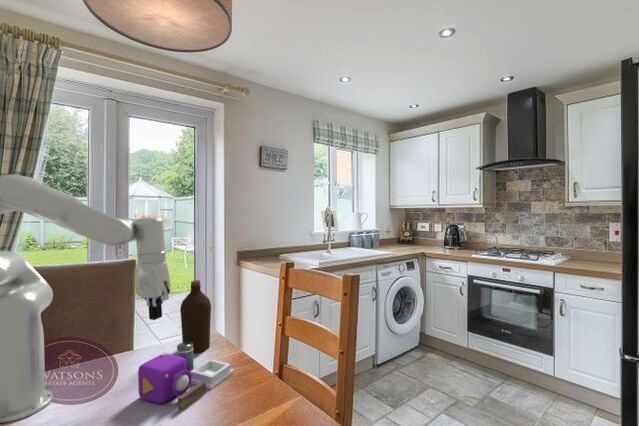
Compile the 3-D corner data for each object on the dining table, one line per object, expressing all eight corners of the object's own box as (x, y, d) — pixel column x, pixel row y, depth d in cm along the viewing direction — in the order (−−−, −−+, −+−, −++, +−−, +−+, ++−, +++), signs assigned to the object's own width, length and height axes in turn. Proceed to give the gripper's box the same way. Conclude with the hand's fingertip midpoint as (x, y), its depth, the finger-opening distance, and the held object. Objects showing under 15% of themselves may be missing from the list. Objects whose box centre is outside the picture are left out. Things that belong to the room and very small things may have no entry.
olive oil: (205, 354, 113) (204, 284, 112) (175, 354, 113) (174, 284, 113) (215, 342, 124) (214, 277, 123) (188, 341, 124) (187, 277, 123)
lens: (173, 371, 101) (173, 346, 101) (185, 364, 106) (185, 340, 106) (185, 374, 99) (184, 349, 99) (197, 367, 104) (196, 343, 104)
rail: (177, 409, 83) (177, 397, 83) (201, 391, 90) (201, 381, 90) (182, 410, 82) (182, 398, 82) (205, 392, 90) (205, 382, 90)
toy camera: (177, 410, 82) (176, 371, 82) (131, 403, 85) (131, 366, 85) (201, 386, 93) (200, 353, 93) (160, 381, 96) (159, 348, 95)
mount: (187, 382, 95) (187, 372, 95) (211, 366, 104) (211, 357, 104) (211, 389, 92) (210, 378, 91) (233, 372, 101) (233, 363, 101)
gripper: (123, 259, 96) (127, 320, 96) (158, 261, 90) (162, 325, 90) (146, 255, 103) (149, 311, 103) (180, 256, 96) (183, 316, 97)
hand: (155, 318), depth 97 cm, fingers closed
